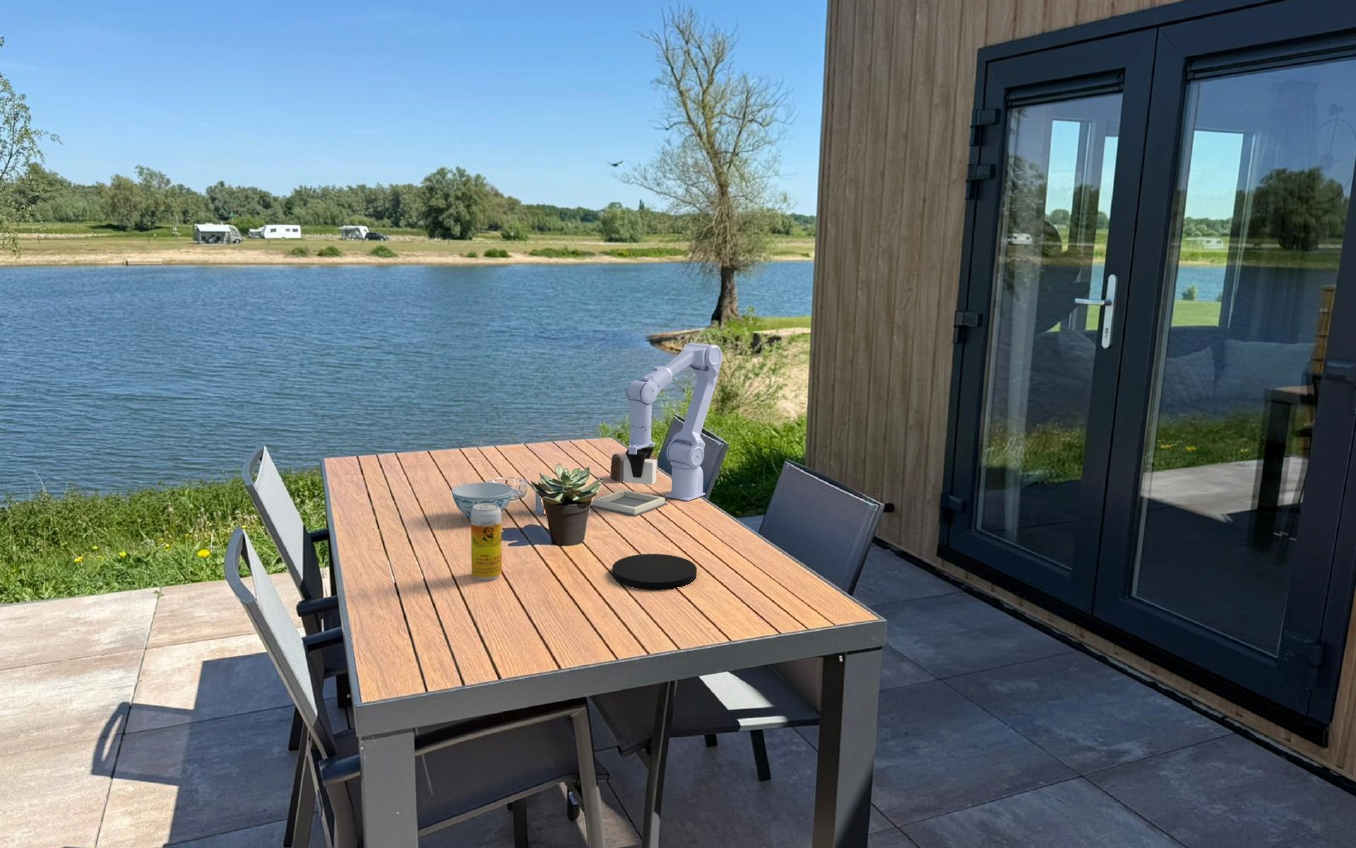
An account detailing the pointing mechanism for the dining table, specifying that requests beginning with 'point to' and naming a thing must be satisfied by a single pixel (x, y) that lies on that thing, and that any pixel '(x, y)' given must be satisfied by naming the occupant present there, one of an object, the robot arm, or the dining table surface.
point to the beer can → (486, 541)
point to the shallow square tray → (629, 502)
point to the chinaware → (481, 495)
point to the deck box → (647, 473)
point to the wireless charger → (654, 571)
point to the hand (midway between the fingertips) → (639, 475)
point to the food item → (621, 466)
